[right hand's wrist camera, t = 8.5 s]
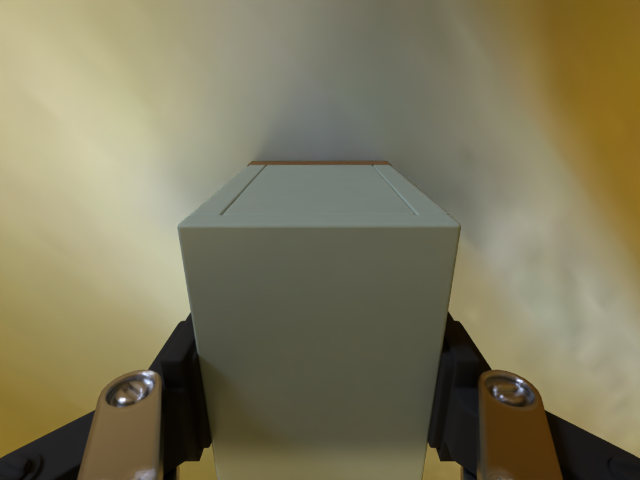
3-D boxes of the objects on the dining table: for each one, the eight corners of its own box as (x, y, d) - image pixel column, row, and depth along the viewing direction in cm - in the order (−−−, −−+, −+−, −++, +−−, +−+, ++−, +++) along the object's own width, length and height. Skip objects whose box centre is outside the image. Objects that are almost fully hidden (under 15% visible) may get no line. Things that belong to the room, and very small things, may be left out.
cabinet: (365, 481, 23) (390, 690, 15) (275, 481, 23) (250, 690, 15) (386, 161, 15) (463, 223, 7) (252, 161, 15) (174, 223, 7)
